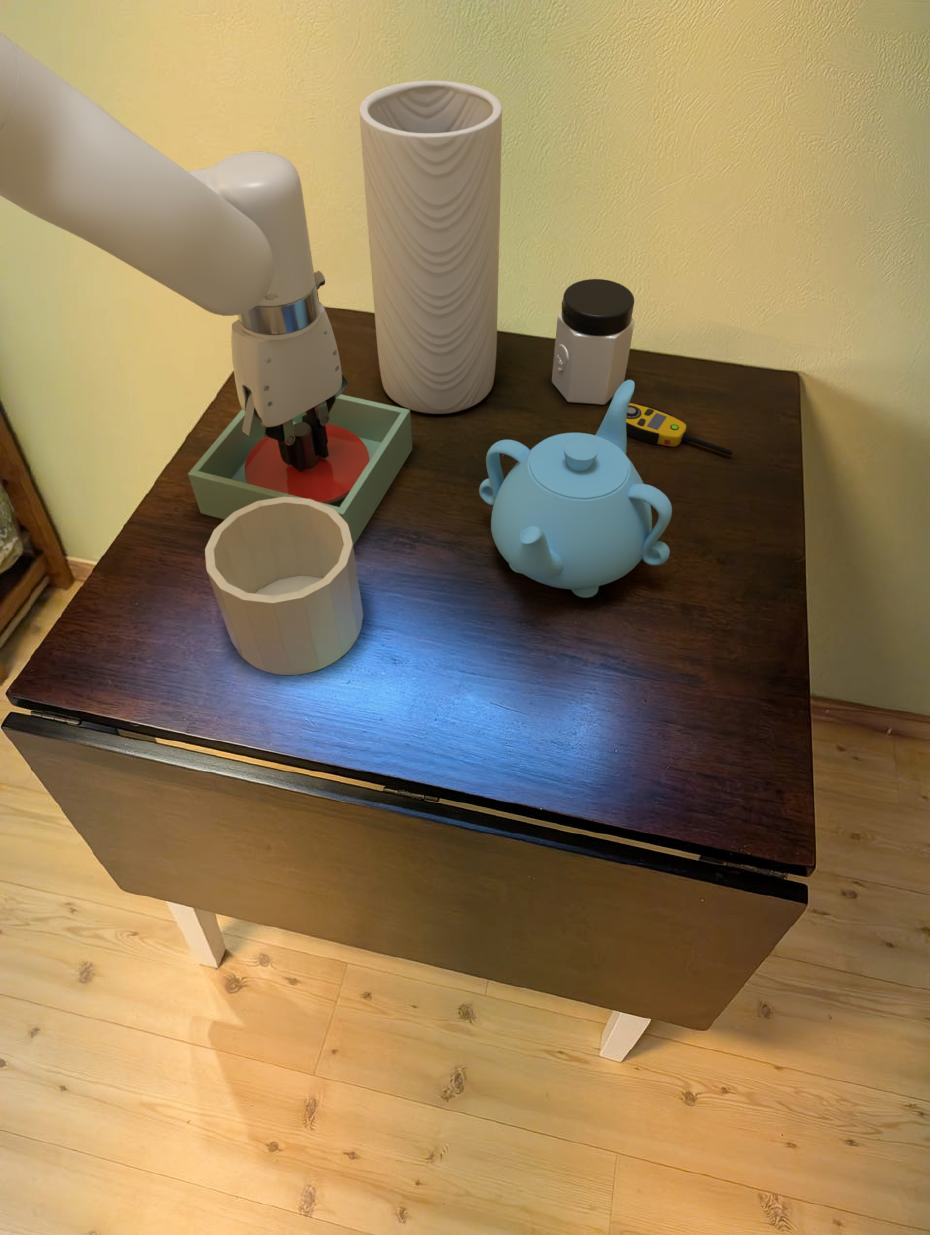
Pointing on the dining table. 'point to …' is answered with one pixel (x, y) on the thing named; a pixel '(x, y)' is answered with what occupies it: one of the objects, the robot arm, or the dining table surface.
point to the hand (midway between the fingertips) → (306, 457)
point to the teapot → (576, 506)
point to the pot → (286, 584)
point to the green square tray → (228, 491)
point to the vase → (434, 239)
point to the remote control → (660, 428)
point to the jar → (593, 341)
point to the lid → (310, 465)
